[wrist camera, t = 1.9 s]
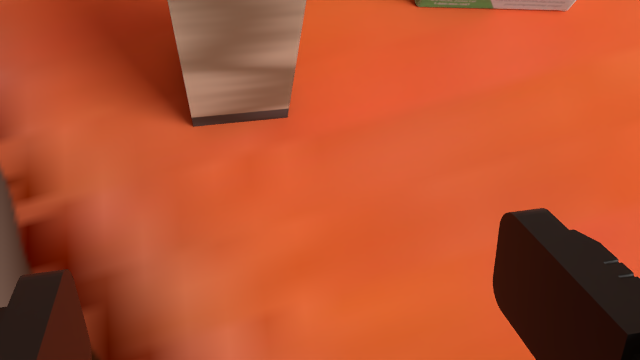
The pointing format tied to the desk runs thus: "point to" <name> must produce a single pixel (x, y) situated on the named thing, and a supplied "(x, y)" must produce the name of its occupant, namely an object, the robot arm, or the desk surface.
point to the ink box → (500, 4)
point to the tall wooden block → (237, 57)
